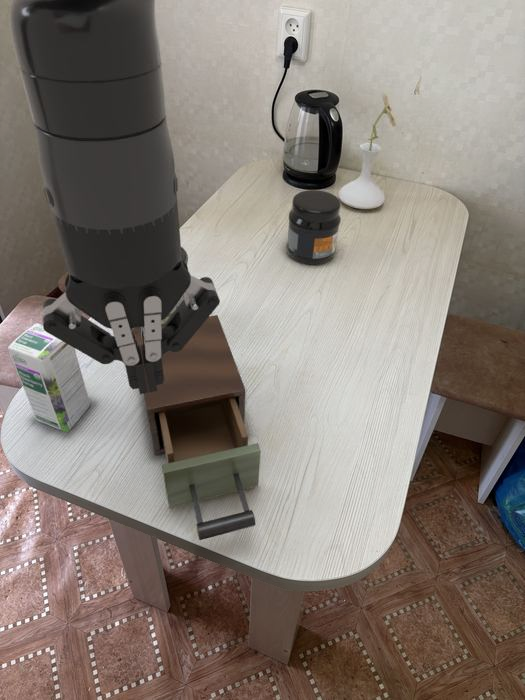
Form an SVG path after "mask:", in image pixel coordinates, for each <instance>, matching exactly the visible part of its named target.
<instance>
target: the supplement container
mask: <svg viewBox="0 0 525 700" xmlns="http://www.w3.org/2000/svg"><path fill="white" fill-rule="evenodd" d="M292 198H293V199H292V203H291V209H290V211H289V213H288V226H287V227H288V228H287V239H286V252H287V253H288V255H289V256H290V257H291V258H292V259H294V260H296V261H298V262H300V263H303V264H308V265H318V264H323V263H326V262H328V261H330V260H331V259H332V258H333V257H334V255H335V254H336V247H337V240H338V236H339V235H338V234H339V229H340V225H341V222H342V221H341V219H342V218H341V214H340V211H341V204H342V203H341V199H340V198H338V196H336V195H335V194H333V193H331V192H328V191H325V190H320V189H319V190H318V189H309V190H308V189H307V190H302V191H299V192H298V193H296V194H295V195H294V196H293V197H292Z"/></svg>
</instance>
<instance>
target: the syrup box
mask: <svg viewBox="0 0 525 700" xmlns="http://www.w3.org/2000/svg"><path fill="white" fill-rule="evenodd" d="M7 351H8V353H9V356H10V358H11V361H12V363H13V365H14V368H15V371H16V373H17V376H18V378H19V381H20V383H21V386H22V388H23V390H24V393H25V395H26V398H27V400H28V403H29V405H30V407H31V410H32V414H33V415H34V418H35V420H36V422H39V423H42V424H45V425H46V426H50V427H52V428H54V429H57V430H60V431H62V432H64V433H69V432H70V431H71V429H72V428H73V427H74V426H75V424H77V422H78V421H79V420H80V419H81V417H82V416H84V414H85V413H86V412H87V410H88V409H89V408H90V407H91V401H90V398H89V395H88V391H87V388H86V385H85V380H84V377H83V374H82V369H81V366H80V363H79V359H78V356H77V352H76V349H75V348H74V347H72V346H70V345H68V344H67V343H65V342H63V341H61V340H60V339H58V338H56V337H54V336H53V335H51V334H49V333H47V332H46V331H45V330H44V329H43V324H41V323H38V322H36V323H34V324H33V325H32V326H30V327H28V328H27V329H26V330H24V331H23V332H22V333H21V334H20V335H19V336H17V337H16V338H15V339H14V340H13V341H12V342H11V343H10V344H9V345H8V346H7Z"/></svg>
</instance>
